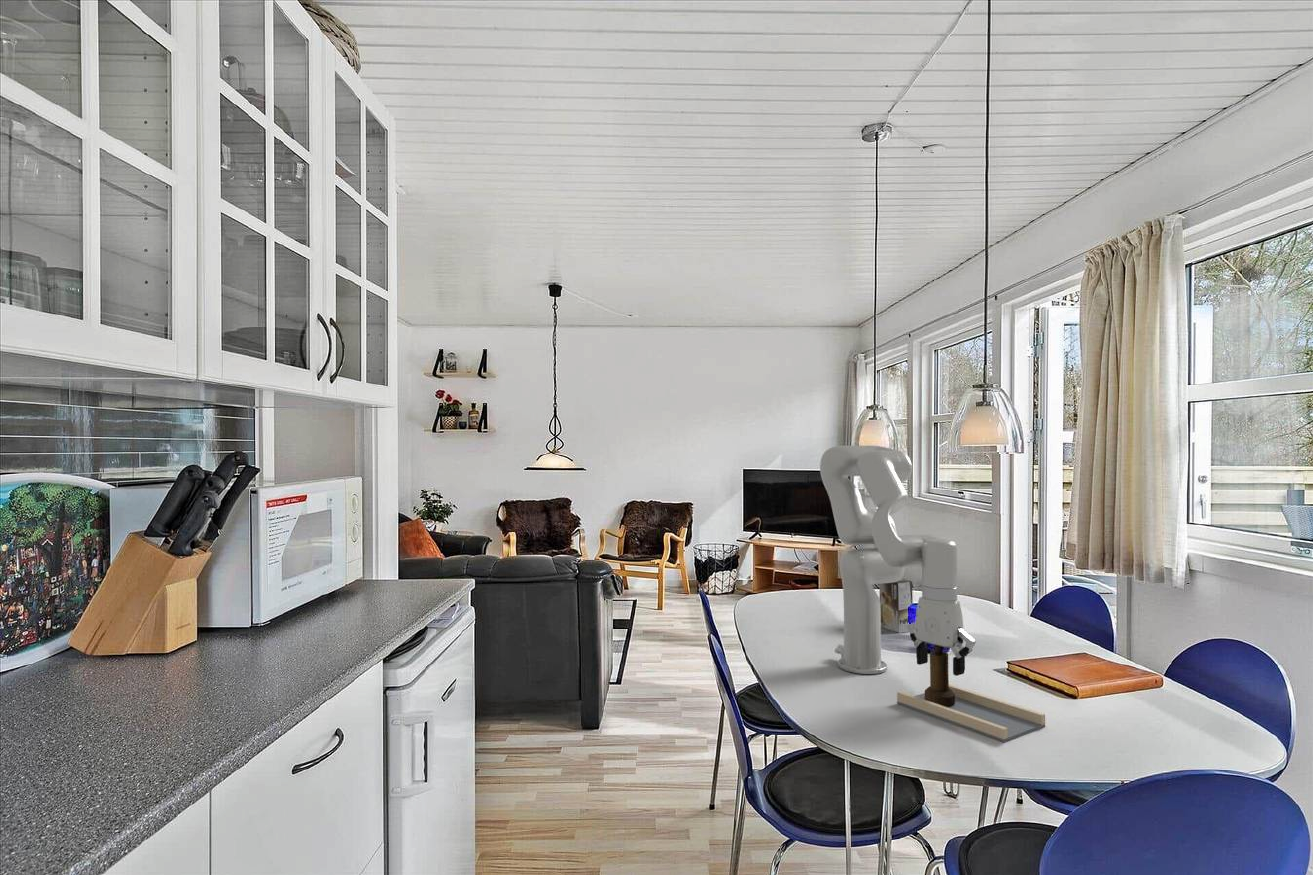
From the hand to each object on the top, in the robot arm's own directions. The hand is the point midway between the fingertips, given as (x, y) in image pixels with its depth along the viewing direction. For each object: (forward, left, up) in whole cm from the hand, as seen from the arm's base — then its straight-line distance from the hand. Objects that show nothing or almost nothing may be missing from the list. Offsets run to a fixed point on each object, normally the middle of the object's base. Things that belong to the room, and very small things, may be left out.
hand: (940, 668), depth 165 cm
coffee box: (-51, +48, -8) cm, 71 cm away
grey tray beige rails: (+7, 0, -8) cm, 11 cm away
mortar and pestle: (0, 0, -8) cm, 8 cm away
